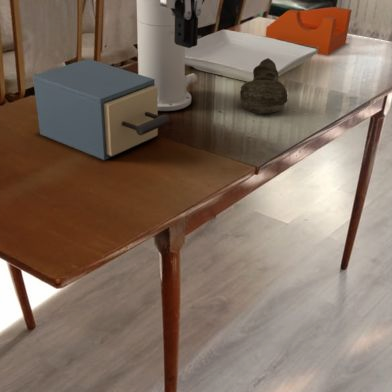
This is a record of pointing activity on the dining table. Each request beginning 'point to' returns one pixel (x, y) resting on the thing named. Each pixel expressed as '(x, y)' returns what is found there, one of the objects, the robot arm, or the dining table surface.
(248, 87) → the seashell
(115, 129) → the drawer
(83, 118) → the cabinet
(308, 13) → the tape dispenser
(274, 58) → the square plate
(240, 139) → the dining table surface
